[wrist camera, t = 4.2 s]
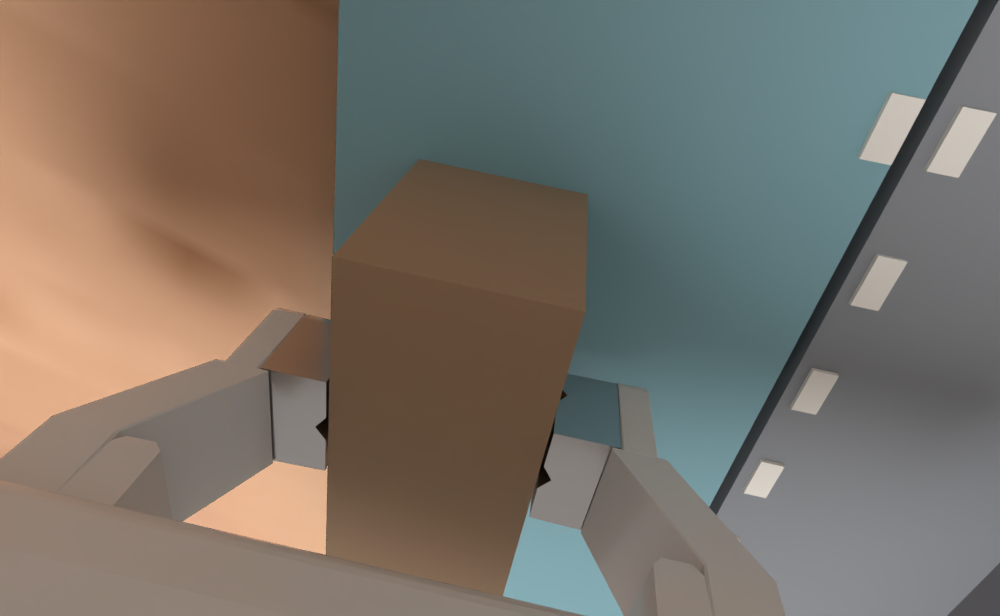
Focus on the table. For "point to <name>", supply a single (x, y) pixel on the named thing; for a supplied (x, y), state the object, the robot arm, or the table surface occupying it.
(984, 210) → the grey toy road piece
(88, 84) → the table surface
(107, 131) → the table surface
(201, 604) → the robot arm
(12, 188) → the table surface
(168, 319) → the table surface
